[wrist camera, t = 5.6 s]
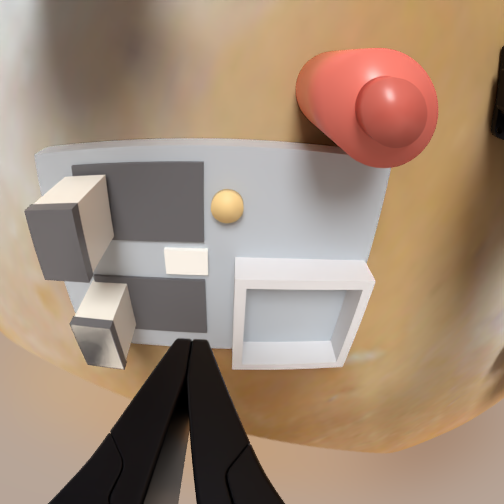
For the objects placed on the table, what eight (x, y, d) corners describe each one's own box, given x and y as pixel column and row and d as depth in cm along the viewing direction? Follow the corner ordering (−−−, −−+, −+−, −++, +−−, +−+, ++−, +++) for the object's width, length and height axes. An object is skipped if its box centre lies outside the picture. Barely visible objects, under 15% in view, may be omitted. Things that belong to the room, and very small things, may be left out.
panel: (381, 152, 16) (430, 191, 12) (334, 332, 24) (350, 391, 19) (47, 146, 15) (-9, 183, 11) (90, 324, 23) (69, 379, 18)
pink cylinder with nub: (381, 60, 14) (458, 68, 8) (370, 136, 16) (435, 182, 10) (299, 45, 13) (340, 34, 8) (291, 127, 16) (324, 168, 10)
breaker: (106, 173, 14) (71, 209, 11) (115, 236, 16) (89, 283, 13) (64, 175, 14) (24, 210, 11) (75, 236, 16) (45, 279, 13)
